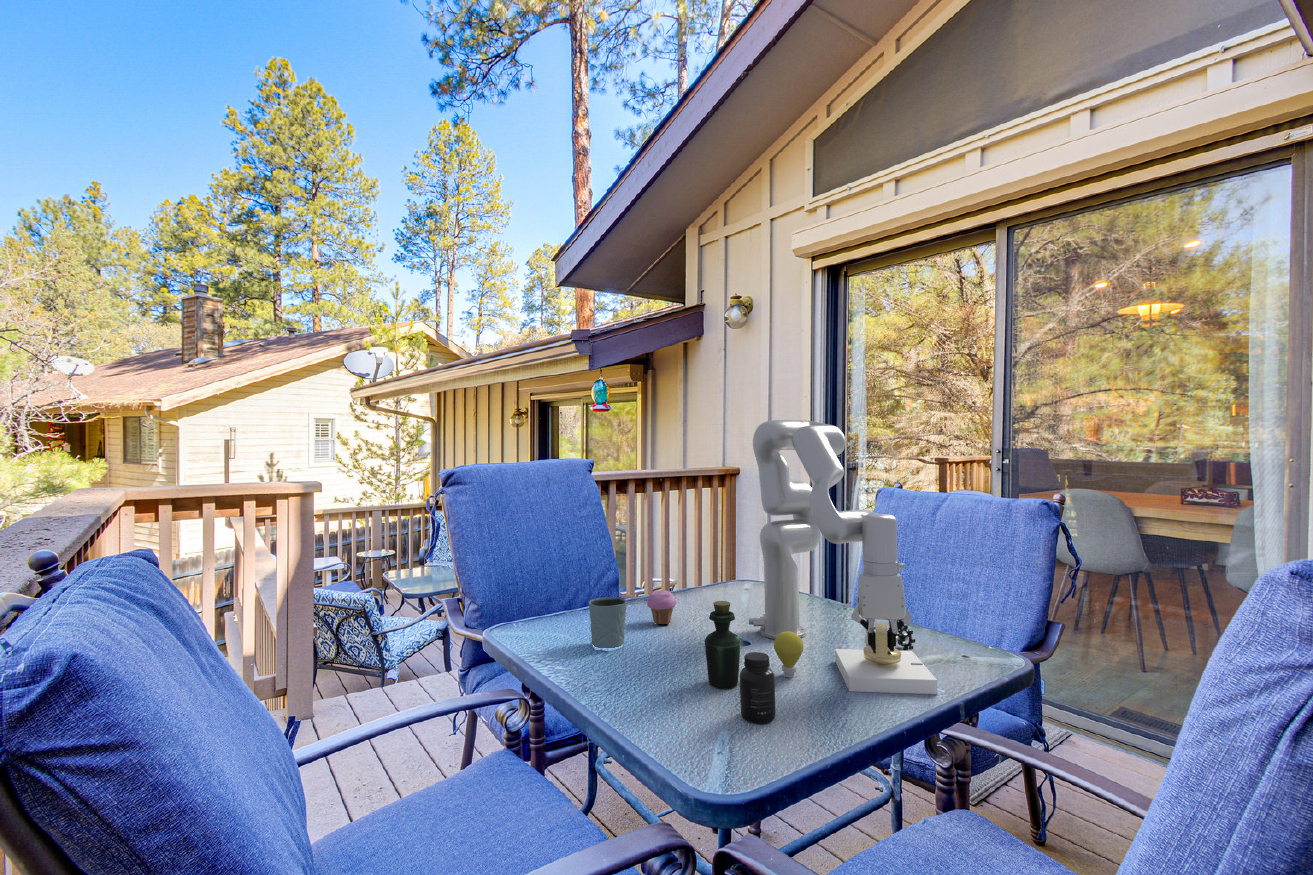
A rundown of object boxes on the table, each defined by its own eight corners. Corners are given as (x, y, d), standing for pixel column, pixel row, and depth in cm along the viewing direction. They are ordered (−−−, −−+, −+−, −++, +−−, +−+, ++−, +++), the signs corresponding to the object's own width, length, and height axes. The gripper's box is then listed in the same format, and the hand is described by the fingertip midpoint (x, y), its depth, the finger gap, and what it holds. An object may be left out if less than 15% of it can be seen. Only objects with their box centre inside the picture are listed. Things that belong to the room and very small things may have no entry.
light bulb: (787, 683, 134) (786, 638, 134) (768, 673, 140) (767, 630, 140) (810, 677, 137) (809, 633, 138) (790, 667, 143) (790, 625, 143)
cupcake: (676, 627, 176) (676, 593, 176) (647, 628, 176) (646, 594, 177) (676, 619, 185) (675, 586, 185) (647, 619, 185) (647, 586, 185)
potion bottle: (697, 682, 136) (696, 602, 136) (723, 673, 140) (722, 596, 141) (722, 694, 129) (721, 610, 129) (749, 684, 134) (747, 603, 134)
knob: (901, 671, 132) (900, 636, 132) (862, 666, 135) (862, 633, 135) (900, 654, 142) (900, 622, 142) (864, 650, 145) (864, 619, 145)
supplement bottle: (737, 710, 121) (735, 650, 121) (770, 708, 122) (769, 648, 122) (744, 726, 114) (743, 662, 114) (780, 724, 115) (778, 661, 115)
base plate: (849, 691, 129) (849, 676, 129) (835, 661, 147) (835, 648, 147) (937, 694, 127) (937, 678, 127) (912, 663, 145) (911, 649, 145)
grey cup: (582, 649, 159) (581, 604, 159) (600, 638, 168) (599, 595, 168) (617, 654, 155) (616, 607, 155) (633, 642, 164) (632, 598, 164)
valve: (874, 659, 148) (915, 654, 152) (874, 632, 148) (915, 627, 152) (858, 650, 155) (898, 645, 158) (858, 625, 155) (898, 620, 158)
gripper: (913, 565, 140) (915, 644, 140) (840, 564, 142) (842, 642, 142) (923, 572, 133) (924, 656, 132) (845, 571, 135) (847, 653, 135)
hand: (881, 648), depth 137 cm, fingers closed on knob, 3 cm apart
